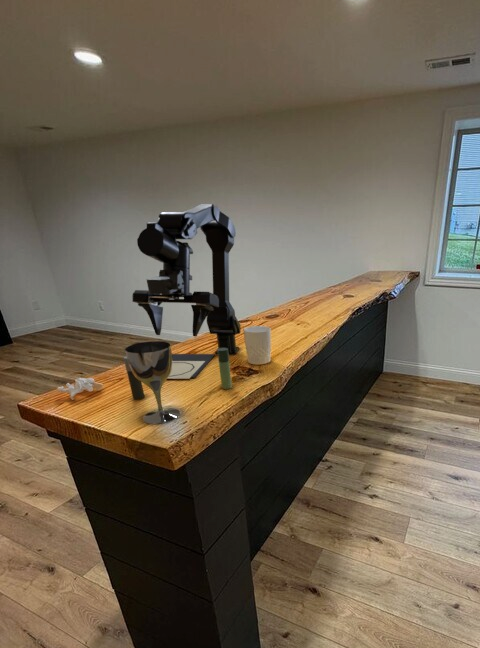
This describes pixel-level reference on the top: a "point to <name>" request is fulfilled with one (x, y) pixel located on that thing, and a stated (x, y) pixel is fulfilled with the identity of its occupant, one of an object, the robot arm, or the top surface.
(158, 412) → the wine glass
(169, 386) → the top surface
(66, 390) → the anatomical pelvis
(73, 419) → the top surface
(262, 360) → the white cup
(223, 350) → the sage-green marker
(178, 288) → the robot arm
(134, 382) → the cylinder
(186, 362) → the sketch pad
